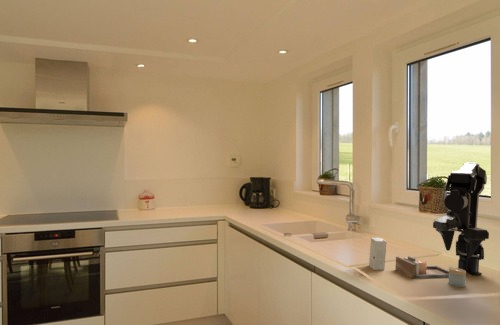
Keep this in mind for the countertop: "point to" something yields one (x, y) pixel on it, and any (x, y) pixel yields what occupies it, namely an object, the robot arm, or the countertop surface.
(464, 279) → the slate jar
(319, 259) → the countertop surface
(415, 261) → the pusher
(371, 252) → the skincare box
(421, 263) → the jar
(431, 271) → the lane
